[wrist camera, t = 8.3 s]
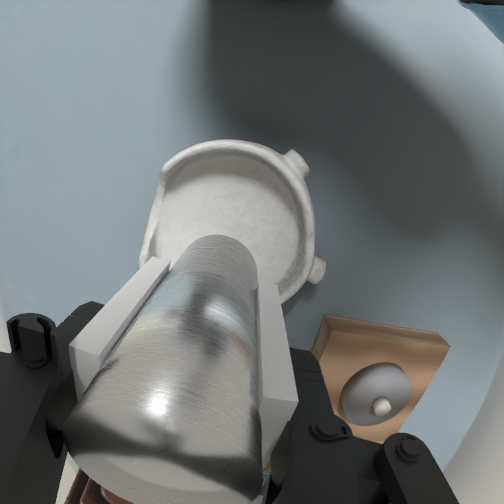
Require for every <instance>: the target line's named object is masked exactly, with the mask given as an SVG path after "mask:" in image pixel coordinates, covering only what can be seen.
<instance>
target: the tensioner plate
mask: <svg viewBox="0 0 504 504" xmlns="http://www.w3.org/2000/svg"><path fill="white" fill-rule="evenodd" d="M449 348H450V346H449V345H448V343H447V342H446V341H445V340H444V339H443V338H442V337H441V336H440V335H439V334H438V333H436V332H429V331H422V330H415V329H409V328H402V327H396V326H390V325H384V324H378V323H372V322H366V321H360V320H354V319H349V318H343V317H338V316H332V315H327V314H325V316H324V318H323V321H322V324H321V326H320V329H319V332H318V334H317V337H316V339H315V342H314V345H313V347H312V350H311V353H312V354H313V356H314V357H315V358H316V359H317V360H318V361H319V365H320V368H321V371H322V373H321V374H323V378H324V383H325V384H326V388H327V391H328V395H329V398H330V401H331V405H332V408H333V412H334V415H336V416H338V417H340V418H341V419H343V420H344V421H345V422H346V423H347V424H348V425H349V426H350V428H351V430H352V433H353V436H356V437H358V438H361V439H365V440H369V441H373V442H377V443H381V444H383V443H384V441H385V440H386V439H387V438H388V437H389V436H390V435H392V434H395V433H397V432H398V431H399V429H400V428H401V426H402V425H403V424H404V422H405V421H406V419H407V418H408V417H409V415H410V414H411V412H412V411H413V409H414V408H415V406H416V405H417V403H418V402H419V400H420V398H421V397H422V395H423V394H424V392H425V391H426V389H427V387H428V386H429V384H430V382H431V381H432V379H433V377H434V376H435V374H436V372H437V370H438V369H439V367H440V365H441V363H442V362H443V360H444V358H445V356H446V354H447V352H448V350H449ZM265 472H271V459H270V461H269V462H268V464H267V466H266V468H265Z"/></svg>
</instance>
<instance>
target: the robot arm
mask: <svg viewBox="0 0 504 504" xmlns="http://www.w3.org/2000/svg"><path fill="white" fill-rule="evenodd" d="M457 2H458V3H459V4H460V5H461V6H463V7H465V8H467V9H469V10H470V11H471V12H473V13H474V14H475V15H476V16H477V17H478V18H479V19H480V20H481V21H482V22H483V23H484V24H485V25H486V26H487V28H488V29H489V30H490V31H491V32H492V33H493V34H494V35H495V36H496V37H497V38H498V39H499V40H500V41H501V42H502V43H503V44H504V0H457ZM170 262H171V261H170V260H166V259H162V258H157V257H152V258H151V259H150V260H148V261H147V262H146V263H145V264H144V265H143V267H142V268H141V269H140V270H139V271H138V272H137V273H136V274H135V275H134V276H133V277H132V278H131V279H130V280H129V281H128V282H127V283H126V284H125V285H124V286H123V287H122V288H121V289H120V290H119V291H118V292H117V293H116V294H115V295H114V296H113V297H112V298H111V299H110V301H109V302H108V303H107V304H106V305H103V304H100V303H97V302H93V301H91V302H88V303H86V304H83V305H81V306H79V307H78V308H77V309H76V310H74V311H73V312H72V313H71V316H70V315H69V316H68V317H67V318H66V319H65V320H64V322H62V323H61V324H60V325H59V326H58V327H57V328H56V325H55V323H54V322H53V321H52V320H51V319H50V318H48V317H46V316H44V315H41V314H35V313H25V314H19V315H17V316H14V317H12V318H11V319H9V320H8V321H7V328H8V334H9V339H10V344H11V349H12V352H11V353H4V352H0V504H55V503H56V498H57V493H58V489H59V484H60V480H61V476H62V472H63V467H64V464H65V460H66V456H67V453H68V450H67V448H66V445H65V443H64V439H63V427H64V423H65V422H66V420H67V418H68V417H69V415H70V414H71V412H72V410H73V409H74V407H75V406H76V404H77V402H78V401H79V399H80V398H81V396H82V395H83V393H84V392H85V390H86V389H87V387H88V385H89V384H90V382H91V381H92V379H93V378H94V376H95V375H96V373H97V372H98V370H99V369H100V367H101V366H102V364H103V363H104V361H105V360H106V359H107V357H108V356H109V354H110V353H111V351H112V350H113V348H114V347H115V345H116V344H117V343H118V341H119V340H120V338H121V337H122V335H123V334H124V332H125V331H126V330H127V328H128V327H129V325H130V324H131V323H132V321H133V320H134V318H135V317H136V316H137V314H138V313H139V311H140V310H141V309H142V307H143V306H144V304H145V303H146V302H147V300H148V299H149V298H150V296H151V295H152V293H153V292H154V291H155V289H156V288H157V287H158V285H159V284H160V283H161V281H162V280H163V279H164V277H165V276H166V275H167V273H168V272H169V268H170ZM256 302H257V357H258V411H259V414H260V417H261V431H262V469H265V468H266V466H267V464H268V462H269V461H270V459H271V474H270V475H269V477H268V479H267V480H266V482H265V484H264V485H263V487H262V489H261V491H260V493H259V495H261V496H263V498H262V503H261V504H459V502H458V500H457V499H456V497H455V495H454V493H453V491H452V489H451V488H450V486H449V484H448V482H447V480H446V479H445V477H444V475H443V473H442V471H441V470H440V468H439V466H438V464H437V463H436V461H435V459H434V457H433V456H432V454H431V452H430V450H429V449H428V447H427V446H426V445H425V444H424V442H423V441H421V440H420V439H419V438H417V437H416V436H413V435H410V434H408V433H395V434H392V435H390V436H389V437H388V438H387V439H386V440H385V441H384V443H383V444H381V443H377V442H373V441H369V440H365V439H361V438H358V437H356V436H353V433H352V430H351V428H350V426H349V425H348V424H347V423H346V422H345V421H344V420H343V419H341V418H340V417H338V416H336V415H334V412H333V408H332V405H331V401H330V398H329V395H328V391H327V388H326V384H325V383H324V378H323V374H321V373H322V371H321V368H320V365H319V361H318V360H317V359H316V358H315V357H314V356H313V354H312V353H311V352H310V351H306V350H300V349H294V348H289V345H288V339H287V334H286V328H285V323H284V318H283V312H282V307H281V302H280V297H279V291H278V286H277V285H275V284H270V283H266V282H261V281H258V285H257V289H256Z"/></svg>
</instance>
